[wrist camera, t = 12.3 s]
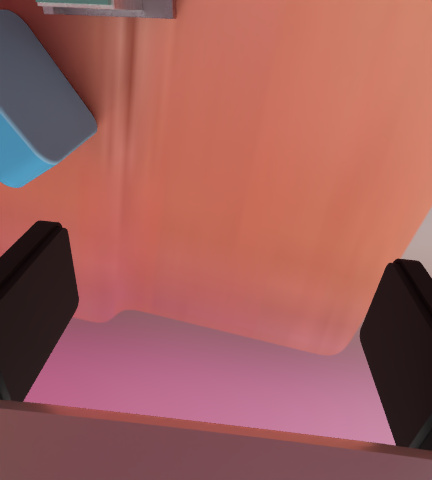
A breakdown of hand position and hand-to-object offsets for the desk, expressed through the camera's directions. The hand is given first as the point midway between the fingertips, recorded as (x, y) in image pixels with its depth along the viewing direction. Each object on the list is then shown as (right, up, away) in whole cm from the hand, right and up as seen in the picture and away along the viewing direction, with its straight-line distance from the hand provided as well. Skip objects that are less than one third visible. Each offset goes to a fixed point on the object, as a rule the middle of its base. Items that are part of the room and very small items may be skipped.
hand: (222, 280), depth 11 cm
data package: (-17, +17, +25) cm, 34 cm away
